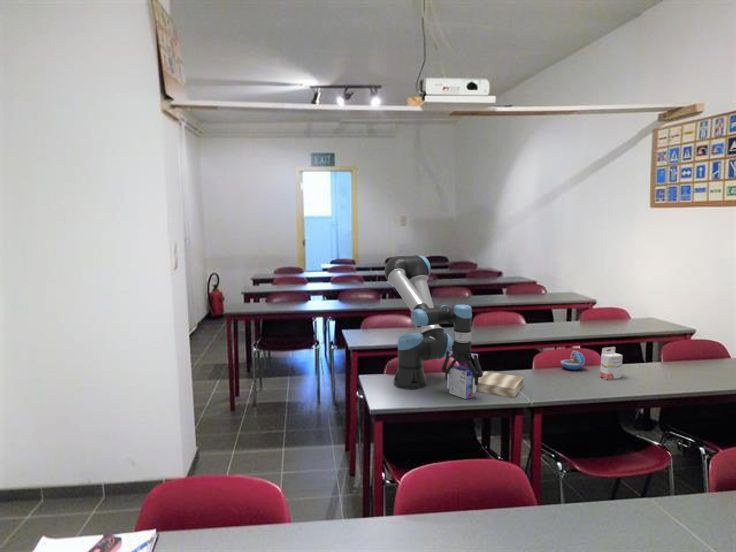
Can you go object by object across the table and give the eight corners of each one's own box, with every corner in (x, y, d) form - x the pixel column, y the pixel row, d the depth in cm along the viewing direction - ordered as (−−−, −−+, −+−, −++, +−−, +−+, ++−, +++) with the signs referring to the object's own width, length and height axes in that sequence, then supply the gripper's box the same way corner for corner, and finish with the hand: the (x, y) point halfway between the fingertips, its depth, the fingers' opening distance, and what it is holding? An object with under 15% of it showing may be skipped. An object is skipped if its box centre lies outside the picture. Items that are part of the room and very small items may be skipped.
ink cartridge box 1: (474, 396, 212) (475, 364, 211) (466, 399, 209) (466, 367, 207) (457, 390, 220) (457, 359, 219) (448, 393, 217) (449, 361, 215)
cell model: (556, 366, 255) (557, 349, 254) (578, 366, 256) (578, 348, 255) (566, 372, 245) (566, 354, 244) (588, 371, 247) (589, 353, 246)
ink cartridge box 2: (607, 380, 233) (609, 350, 232) (599, 377, 238) (601, 347, 236) (621, 378, 236) (623, 348, 234) (613, 375, 241) (615, 346, 239)
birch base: (473, 390, 220) (473, 382, 220) (484, 379, 236) (484, 371, 235) (514, 397, 211) (514, 388, 211) (523, 385, 227) (523, 377, 227)
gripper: (434, 339, 214) (433, 388, 217) (486, 345, 203) (485, 397, 205) (440, 335, 221) (439, 383, 223) (491, 341, 209) (490, 391, 212)
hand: (461, 389), depth 214 cm, fingers closed on ink cartridge box 1, 11 cm apart
